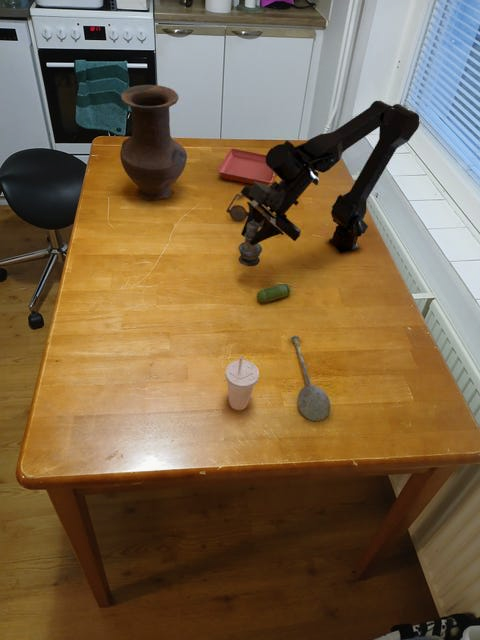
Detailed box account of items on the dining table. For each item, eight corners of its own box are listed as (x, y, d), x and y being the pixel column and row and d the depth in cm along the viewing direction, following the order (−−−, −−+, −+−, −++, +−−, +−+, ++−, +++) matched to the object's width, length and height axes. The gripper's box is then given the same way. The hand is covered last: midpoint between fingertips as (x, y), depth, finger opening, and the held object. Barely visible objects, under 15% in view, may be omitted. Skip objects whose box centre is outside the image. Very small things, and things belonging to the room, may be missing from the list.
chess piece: (250, 270, 119) (254, 229, 111) (232, 259, 122) (235, 218, 113) (265, 260, 122) (271, 219, 114) (248, 249, 125) (252, 209, 116)
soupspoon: (299, 424, 97) (331, 423, 98) (303, 415, 94) (335, 414, 96) (280, 340, 112) (308, 339, 113) (283, 330, 109) (311, 330, 110)
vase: (111, 189, 152) (99, 89, 130) (162, 171, 162) (159, 76, 140) (147, 217, 142) (140, 114, 121) (199, 197, 152) (201, 99, 131)
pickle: (285, 289, 125) (287, 279, 122) (292, 297, 123) (294, 287, 120) (253, 298, 121) (255, 288, 119) (260, 306, 119) (261, 296, 117)
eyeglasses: (225, 219, 145) (226, 204, 141) (240, 194, 155) (241, 180, 152) (273, 230, 143) (275, 215, 139) (284, 205, 153) (286, 190, 149)
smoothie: (221, 389, 101) (225, 344, 91) (252, 389, 101) (259, 344, 91) (223, 416, 96) (227, 371, 86) (255, 415, 97) (263, 371, 87)
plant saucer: (279, 165, 171) (281, 156, 168) (270, 191, 158) (271, 181, 156) (229, 156, 173) (230, 147, 170) (216, 180, 160) (217, 171, 158)
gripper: (250, 152, 112) (207, 205, 116) (297, 191, 102) (249, 248, 105) (274, 176, 121) (233, 225, 125) (320, 214, 111) (274, 266, 114)
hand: (246, 239), depth 117 cm, fingers closed on chess piece, 3 cm apart
